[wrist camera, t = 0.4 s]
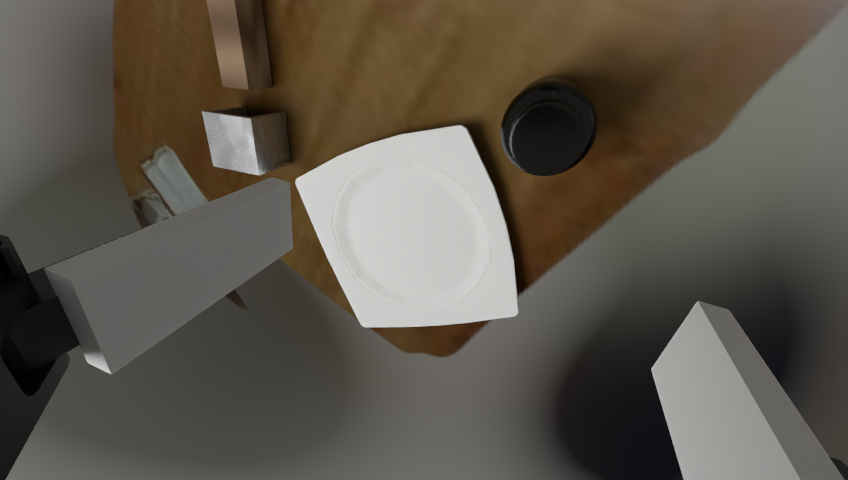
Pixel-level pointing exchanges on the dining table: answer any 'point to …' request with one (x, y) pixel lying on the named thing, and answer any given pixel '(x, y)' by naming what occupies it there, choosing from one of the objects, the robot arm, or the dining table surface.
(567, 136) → the supplement bottle
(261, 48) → the batten
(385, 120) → the dining table surface
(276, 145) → the end cap
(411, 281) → the plate
